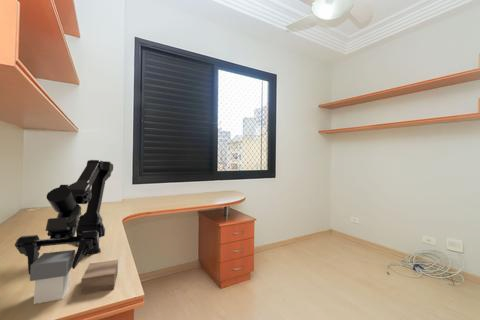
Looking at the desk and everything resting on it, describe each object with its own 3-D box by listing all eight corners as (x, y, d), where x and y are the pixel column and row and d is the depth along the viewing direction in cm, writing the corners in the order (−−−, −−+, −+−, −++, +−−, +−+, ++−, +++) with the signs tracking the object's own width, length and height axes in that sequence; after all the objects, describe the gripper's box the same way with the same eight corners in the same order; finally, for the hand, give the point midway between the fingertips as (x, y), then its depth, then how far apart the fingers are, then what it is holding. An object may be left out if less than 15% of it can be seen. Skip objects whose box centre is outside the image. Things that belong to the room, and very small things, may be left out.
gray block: (42, 267, 62) (43, 253, 62) (74, 263, 65) (75, 249, 65) (29, 281, 54) (30, 265, 54) (66, 275, 57) (66, 260, 57)
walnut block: (88, 277, 69) (89, 263, 69) (117, 273, 72) (118, 259, 72) (80, 295, 59) (81, 278, 60) (114, 289, 63) (114, 273, 63)
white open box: (44, 290, 61) (46, 255, 61) (69, 286, 63) (71, 252, 64) (33, 304, 55) (36, 264, 55) (61, 299, 58) (64, 261, 58)
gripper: (20, 207, 60) (-8, 264, 49) (99, 204, 67) (90, 253, 57) (31, 228, 67) (9, 282, 56) (102, 223, 74) (94, 269, 64)
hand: (52, 271), depth 58 cm, fingers open, 9 cm apart
